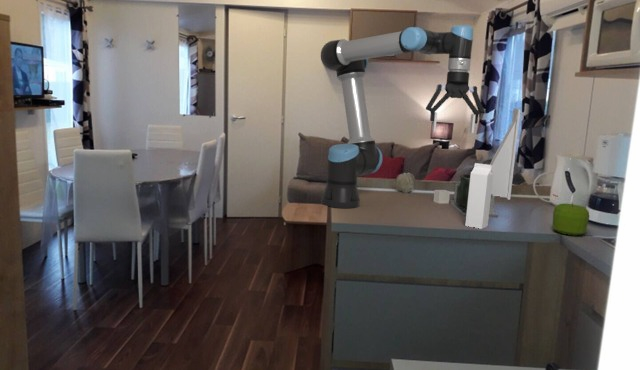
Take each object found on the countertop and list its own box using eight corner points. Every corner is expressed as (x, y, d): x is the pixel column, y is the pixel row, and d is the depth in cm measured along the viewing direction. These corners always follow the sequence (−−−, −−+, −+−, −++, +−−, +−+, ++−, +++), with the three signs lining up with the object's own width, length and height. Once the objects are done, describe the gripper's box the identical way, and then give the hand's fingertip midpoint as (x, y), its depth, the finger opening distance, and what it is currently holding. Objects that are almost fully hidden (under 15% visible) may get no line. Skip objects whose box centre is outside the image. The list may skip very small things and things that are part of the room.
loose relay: (438, 203, 220) (439, 191, 219) (433, 201, 224) (434, 190, 223) (448, 203, 222) (450, 191, 221) (443, 201, 226) (444, 189, 225)
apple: (555, 236, 177) (559, 204, 175) (547, 228, 188) (551, 198, 186) (590, 239, 175) (595, 207, 174) (580, 231, 186) (585, 200, 184)
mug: (482, 204, 219) (485, 175, 216) (488, 211, 204) (492, 181, 202) (455, 202, 220) (458, 173, 218) (460, 209, 205) (463, 179, 203)
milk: (471, 223, 189) (477, 162, 185) (488, 226, 186) (494, 164, 182) (464, 226, 184) (471, 163, 181) (481, 229, 181) (488, 165, 177)
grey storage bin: (463, 215, 200) (466, 193, 199) (448, 202, 224) (450, 181, 222) (497, 217, 200) (500, 194, 199) (479, 203, 224) (481, 183, 222)
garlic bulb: (413, 197, 243) (422, 178, 240) (403, 196, 236) (413, 176, 234) (397, 187, 249) (406, 168, 246) (387, 186, 242) (397, 167, 240)
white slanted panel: (475, 189, 259) (483, 106, 252) (505, 191, 256) (515, 108, 248) (476, 196, 240) (486, 107, 233) (510, 199, 237) (520, 109, 229)
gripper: (425, 69, 182) (419, 130, 186) (497, 72, 182) (490, 134, 186) (421, 69, 189) (416, 129, 193) (490, 73, 190) (484, 132, 193)
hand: (452, 131), depth 190 cm, fingers open, 13 cm apart
